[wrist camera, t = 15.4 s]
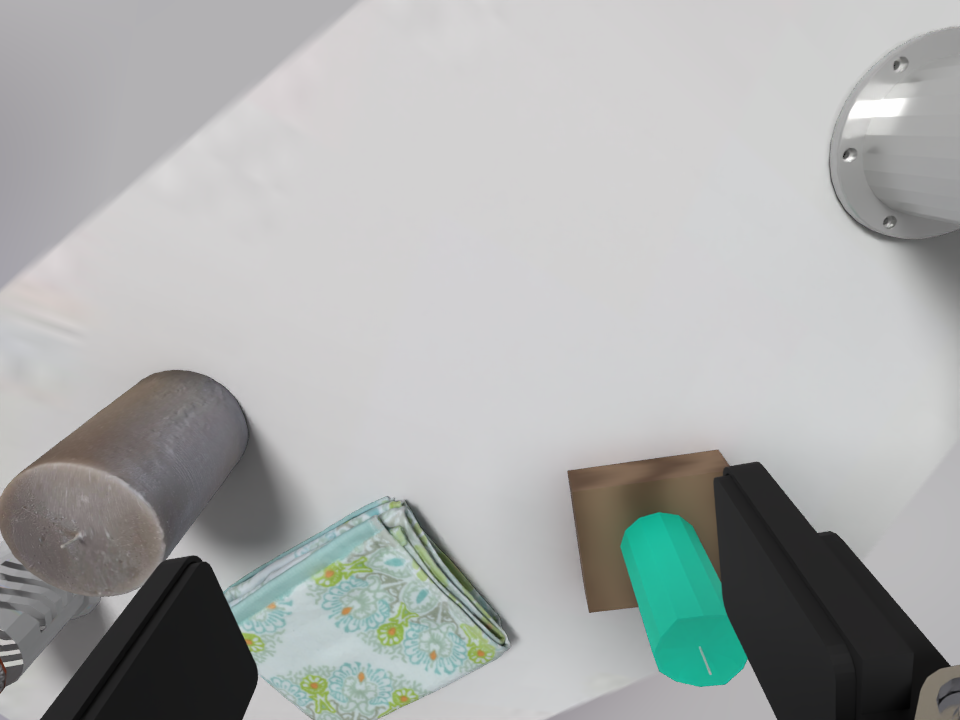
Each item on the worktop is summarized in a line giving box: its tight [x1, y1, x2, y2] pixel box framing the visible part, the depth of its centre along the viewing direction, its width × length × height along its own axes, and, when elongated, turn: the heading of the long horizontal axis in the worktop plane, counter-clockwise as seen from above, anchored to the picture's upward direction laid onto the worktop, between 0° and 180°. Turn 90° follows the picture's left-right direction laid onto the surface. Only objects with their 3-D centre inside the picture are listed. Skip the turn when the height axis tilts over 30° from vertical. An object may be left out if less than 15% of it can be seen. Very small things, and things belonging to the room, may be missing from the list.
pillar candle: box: [0, 370, 249, 597], centre depth 40 cm, size 10×10×15 cm
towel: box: [223, 496, 511, 720], centre depth 52 cm, size 18×21×5 cm
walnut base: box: [568, 450, 729, 613], centre depth 48 cm, size 12×12×3 cm
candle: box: [620, 512, 748, 687], centre depth 41 cm, size 6×6×12 cm
